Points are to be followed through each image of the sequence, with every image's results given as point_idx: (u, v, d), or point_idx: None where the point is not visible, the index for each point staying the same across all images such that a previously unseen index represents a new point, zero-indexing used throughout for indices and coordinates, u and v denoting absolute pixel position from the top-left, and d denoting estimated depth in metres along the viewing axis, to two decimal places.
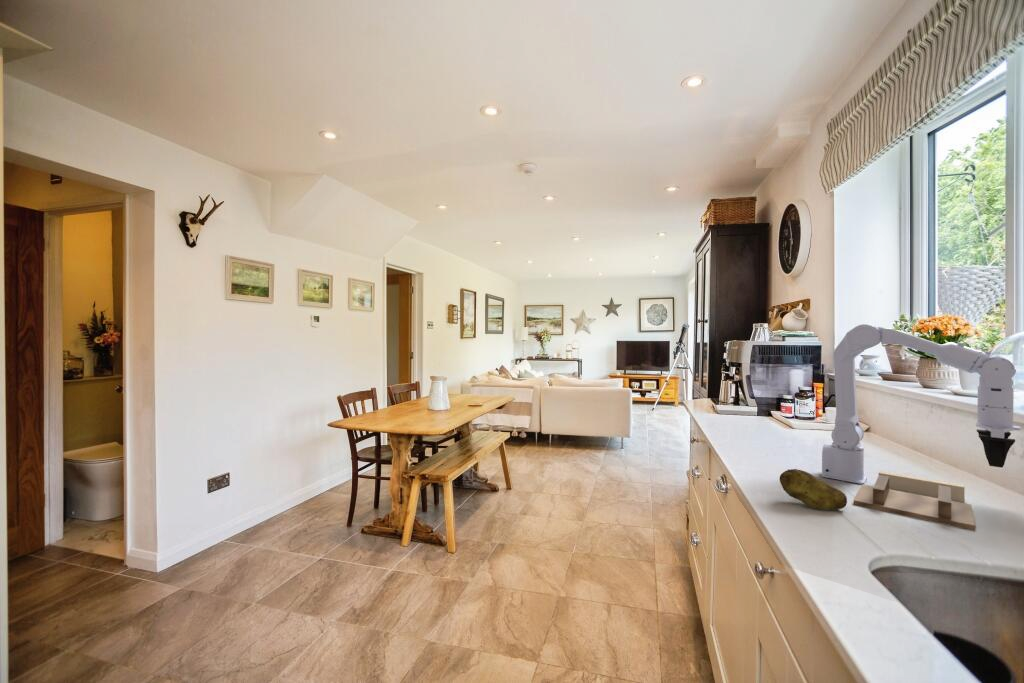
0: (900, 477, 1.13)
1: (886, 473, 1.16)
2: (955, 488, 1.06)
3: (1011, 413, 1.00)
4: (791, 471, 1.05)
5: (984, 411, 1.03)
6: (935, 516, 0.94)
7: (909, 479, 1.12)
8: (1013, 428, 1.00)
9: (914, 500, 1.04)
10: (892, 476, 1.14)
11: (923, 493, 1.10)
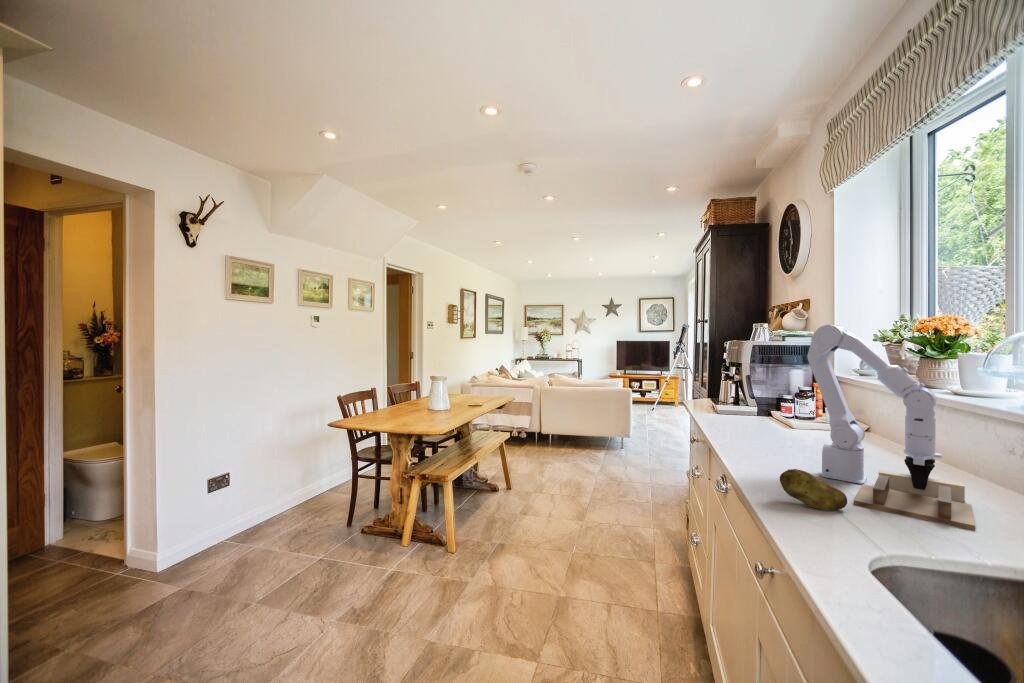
0: (900, 476, 1.13)
1: (886, 473, 1.16)
2: (955, 488, 1.06)
3: (933, 441, 1.09)
4: (791, 471, 1.05)
5: (910, 439, 1.11)
6: (935, 516, 0.94)
7: (909, 478, 1.12)
8: (934, 455, 1.08)
9: (914, 500, 1.04)
10: (892, 476, 1.14)
11: (923, 492, 1.10)
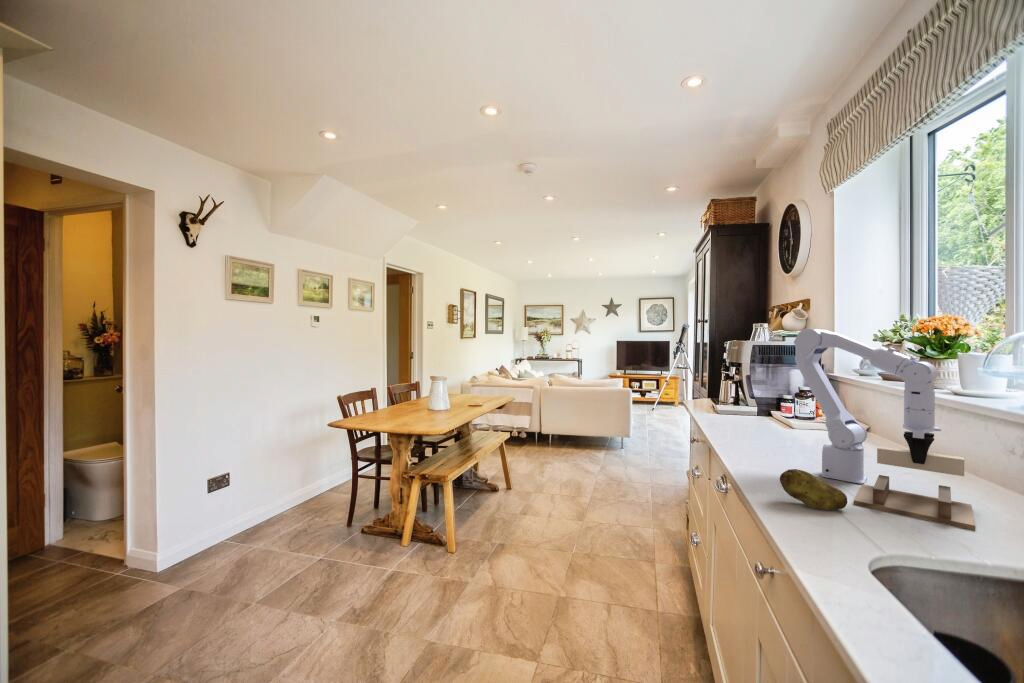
0: (899, 452, 1.11)
1: (885, 448, 1.14)
2: (955, 461, 1.04)
3: (932, 415, 1.07)
4: (791, 471, 1.05)
5: (909, 413, 1.10)
6: (935, 516, 0.94)
7: (908, 453, 1.10)
8: (934, 429, 1.07)
9: (914, 500, 1.04)
10: (891, 451, 1.12)
11: (922, 467, 1.08)
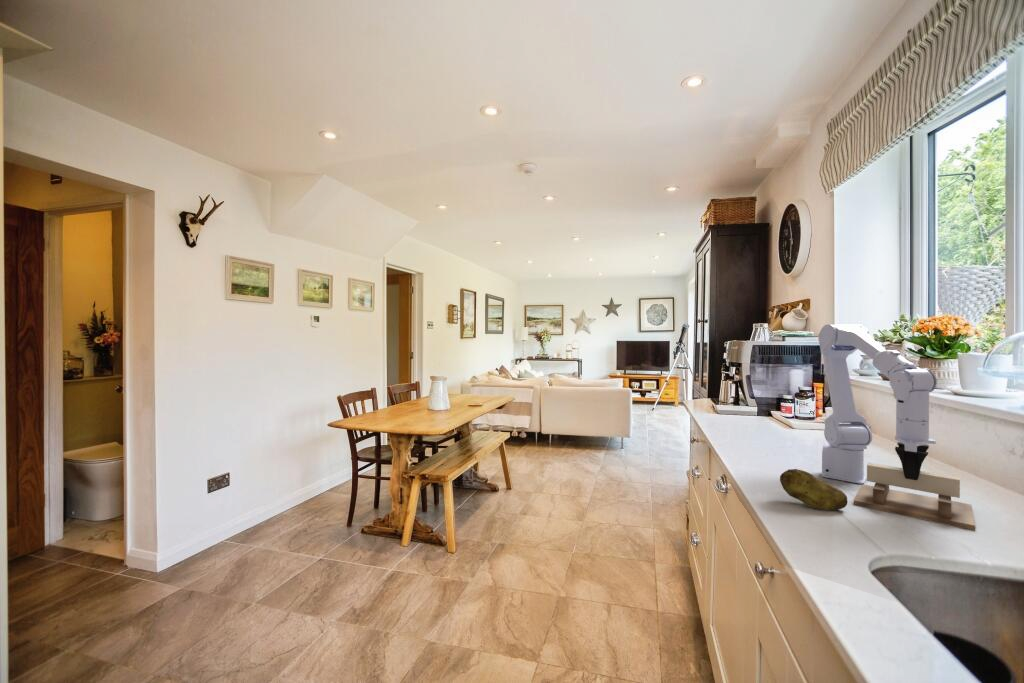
0: (890, 469, 1.04)
1: (875, 465, 1.06)
2: (949, 481, 0.97)
3: (926, 426, 0.99)
4: (791, 471, 1.05)
5: (901, 424, 1.02)
6: (935, 516, 0.94)
7: (900, 471, 1.03)
8: (928, 441, 0.99)
9: (914, 500, 1.04)
10: (881, 468, 1.05)
11: (915, 487, 1.01)
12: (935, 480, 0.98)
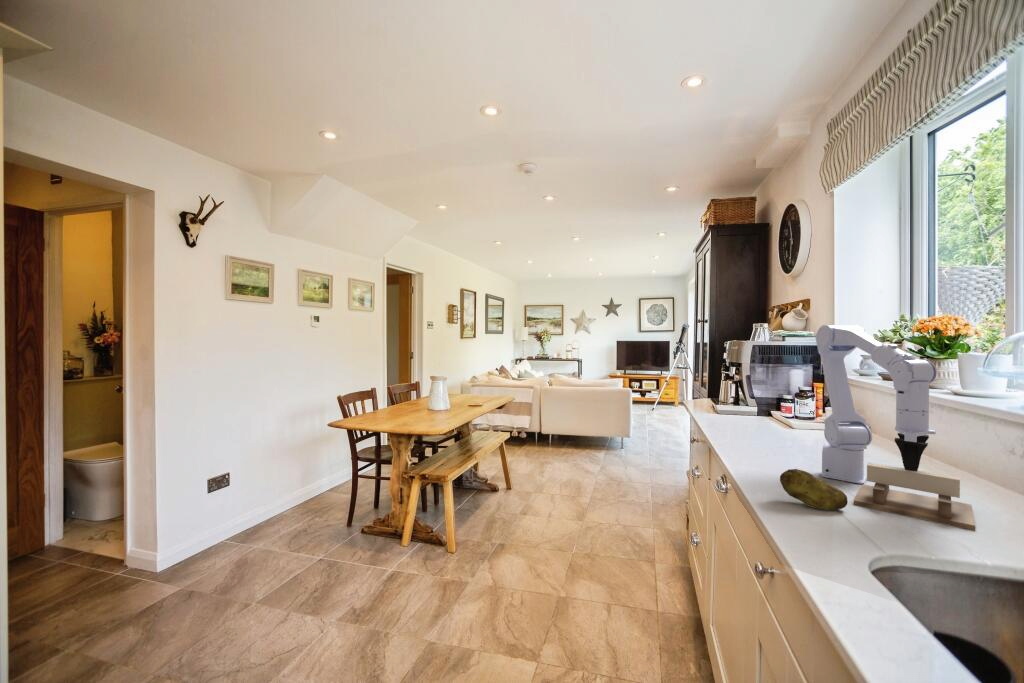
0: (890, 469, 1.04)
1: (875, 465, 1.06)
2: (949, 481, 0.97)
3: (926, 417, 1.00)
4: (791, 471, 1.05)
5: (901, 414, 1.02)
6: (935, 516, 0.94)
7: (900, 471, 1.03)
8: (928, 432, 0.99)
9: (914, 500, 1.04)
10: (881, 468, 1.05)
11: (915, 487, 1.01)
12: (935, 480, 0.98)
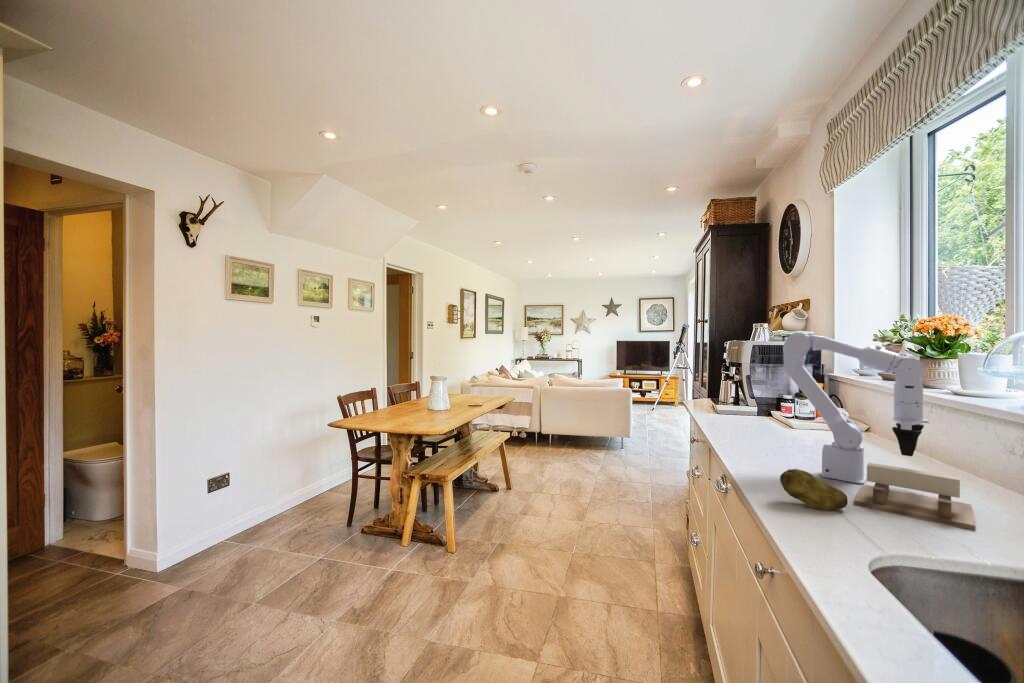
0: (890, 469, 1.04)
1: (875, 465, 1.06)
2: (949, 481, 0.97)
3: (920, 408, 1.12)
4: (792, 471, 1.05)
5: (898, 406, 1.15)
6: (935, 516, 0.94)
7: (900, 471, 1.03)
8: (922, 421, 1.12)
9: (914, 500, 1.04)
10: (881, 468, 1.05)
11: (915, 487, 1.01)
12: (935, 480, 0.98)
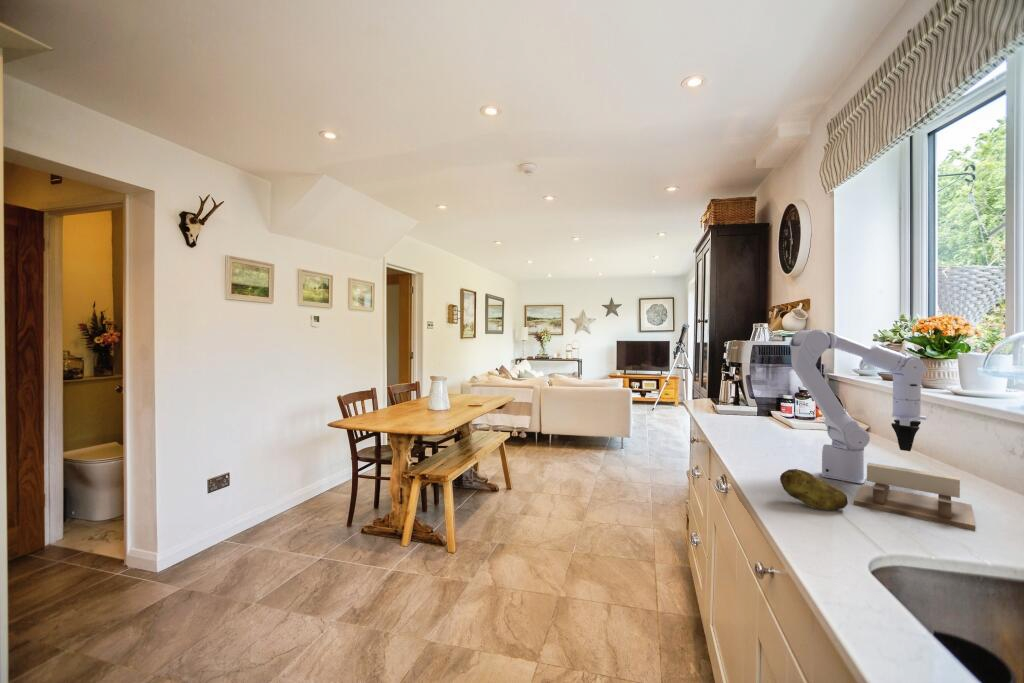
0: (890, 469, 1.04)
1: (875, 465, 1.06)
2: (949, 481, 0.97)
3: (918, 405, 1.17)
4: (792, 471, 1.05)
5: (897, 403, 1.20)
6: (935, 516, 0.94)
7: (900, 471, 1.03)
8: (920, 417, 1.17)
9: (914, 500, 1.04)
10: (881, 468, 1.05)
11: (915, 487, 1.01)
12: (935, 480, 0.98)
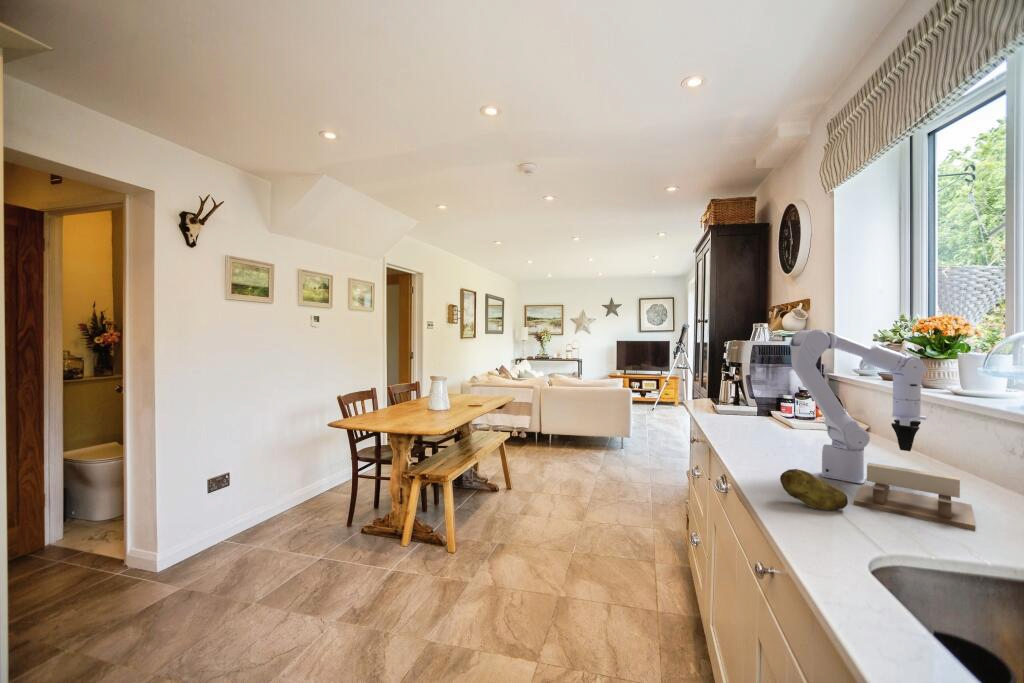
0: (890, 469, 1.04)
1: (875, 465, 1.06)
2: (949, 481, 0.97)
3: (918, 405, 1.17)
4: (792, 471, 1.05)
5: (897, 403, 1.20)
6: (935, 516, 0.94)
7: (900, 471, 1.03)
8: (920, 417, 1.17)
9: (914, 500, 1.04)
10: (881, 468, 1.05)
11: (915, 487, 1.01)
12: (935, 480, 0.98)
